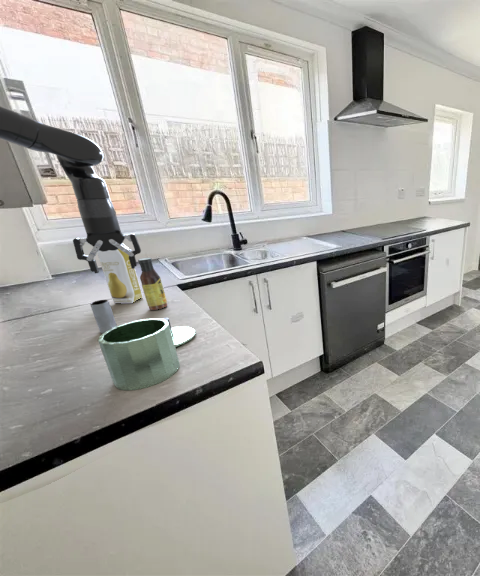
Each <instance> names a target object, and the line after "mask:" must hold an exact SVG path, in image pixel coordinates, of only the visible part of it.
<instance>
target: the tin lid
mask: <svg viewBox="0 0 480 576" xmlns="http://www.w3.org/2000/svg"><path fill="white" fill-rule="evenodd" d="M161 319H164V320H167V321H168V323H169V326H170V330H171V334H172V337H173V341H174V345H175V348H177V347H179V346H181V345H184V344H186V343H188V342H189V341H191V340H192V339H193V338H194V337H195V336H196V329H194V328H193V327H190V326H174V327H172V325H171V321H170V318H169V317H162V318H161Z"/></svg>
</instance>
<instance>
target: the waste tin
mask: <svg viewBox="0 0 480 576" xmlns="http://www.w3.org/2000/svg"><path fill="white" fill-rule="evenodd" d="M97 342H98V344H99V348H100V350H101V353H102V355H103V358H104V361H105V364H106V366H107V370H108V372H109V375H110V378H111V380H112V383H113V385H114V387H115V388H116V389H118V390H121V391H136V390H142V389H146V388H149V387H153V386H155V385H157V384H161V383H162V382H164V381H165V380H168V379H169V378H171V377H173V376H174V375H175V374H176V373H177V372H178V370H179V369H180V366H181V364H180V360H179V356H178V352H177V347H175V345H174V341H173V337H172V334H171V330H170V326H169V323H168V321H167V320H164V319H162V318H154V317H153V318H143V319H138V320H133V321H130V322H126V323H123V324H120V325H117V327H114V328H112V329H110V330H108V331H106V332H105V333H101V335H99V337H98V339H97Z"/></svg>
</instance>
